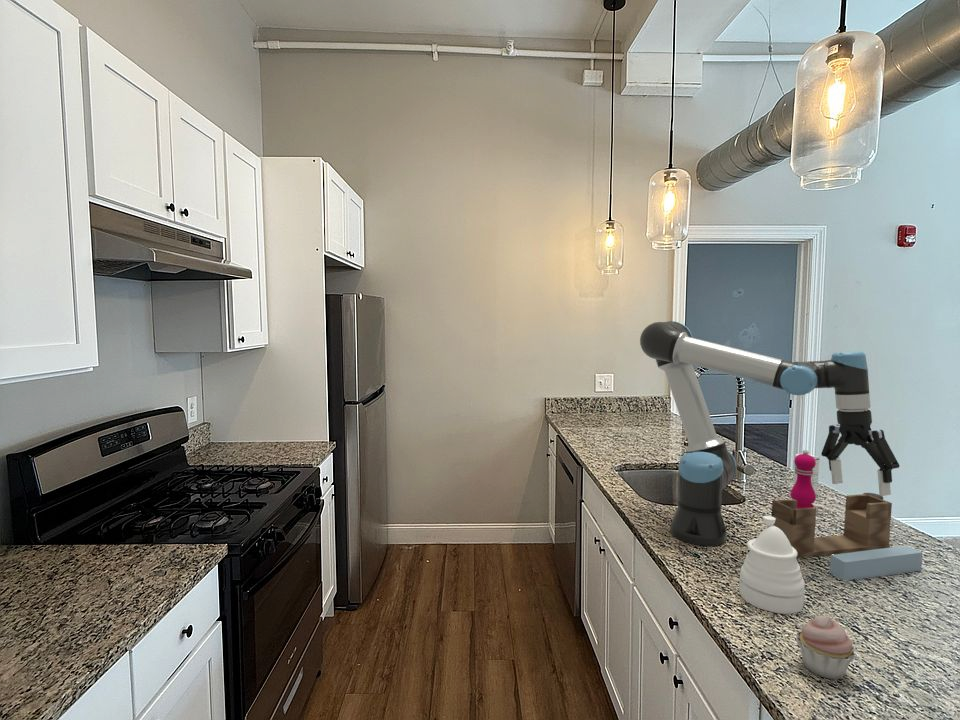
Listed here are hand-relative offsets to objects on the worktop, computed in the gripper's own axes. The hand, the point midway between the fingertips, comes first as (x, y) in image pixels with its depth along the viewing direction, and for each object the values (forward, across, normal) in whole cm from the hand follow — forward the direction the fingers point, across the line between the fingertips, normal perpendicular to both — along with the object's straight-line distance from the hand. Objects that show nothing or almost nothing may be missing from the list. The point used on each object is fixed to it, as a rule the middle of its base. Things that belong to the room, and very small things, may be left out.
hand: (860, 488), depth 140 cm
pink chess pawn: (+16, +45, -25) cm, 54 cm away
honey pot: (+16, -12, +40) cm, 45 cm away
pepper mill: (+16, +33, -13) cm, 39 cm away
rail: (+19, -7, +5) cm, 21 cm away
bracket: (+17, +7, +5) cm, 19 cm away
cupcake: (+18, -34, +49) cm, 63 cm away
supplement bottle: (+18, +11, -15) cm, 26 cm away
